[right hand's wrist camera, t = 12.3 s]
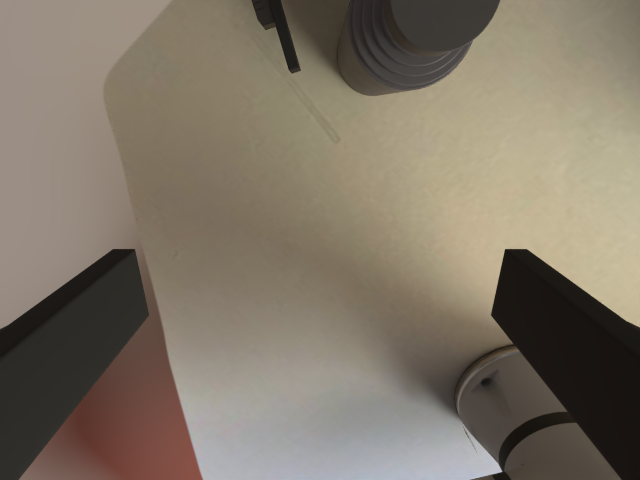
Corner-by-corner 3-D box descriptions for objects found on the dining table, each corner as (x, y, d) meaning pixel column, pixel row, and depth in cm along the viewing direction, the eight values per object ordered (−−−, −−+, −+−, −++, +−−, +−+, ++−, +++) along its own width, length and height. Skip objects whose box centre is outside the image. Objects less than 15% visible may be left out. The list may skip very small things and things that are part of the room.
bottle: (367, -9, 30) (433, -172, 12) (429, 42, 32) (569, -38, 14) (322, 66, 33) (322, 19, 15) (382, 111, 34) (450, 118, 16)
